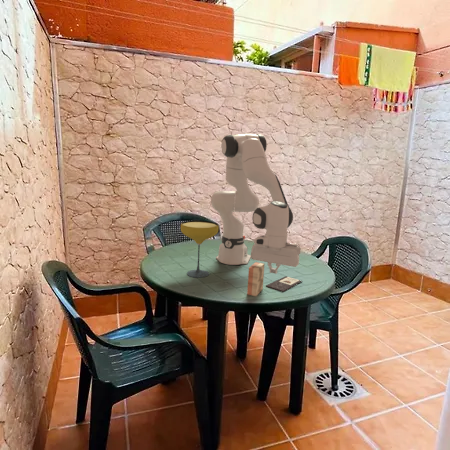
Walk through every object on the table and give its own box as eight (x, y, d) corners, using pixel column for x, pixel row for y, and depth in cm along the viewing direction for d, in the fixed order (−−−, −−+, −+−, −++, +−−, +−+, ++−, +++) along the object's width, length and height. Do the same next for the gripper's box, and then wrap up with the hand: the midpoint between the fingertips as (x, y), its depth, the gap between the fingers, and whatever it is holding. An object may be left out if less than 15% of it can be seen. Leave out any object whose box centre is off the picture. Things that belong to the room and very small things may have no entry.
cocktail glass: (200, 283, 156) (202, 229, 151) (171, 274, 166) (172, 223, 161) (223, 273, 170) (226, 224, 165) (195, 265, 180) (197, 218, 175)
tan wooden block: (254, 287, 154) (255, 262, 152) (262, 289, 153) (264, 263, 150) (247, 294, 146) (248, 267, 144) (256, 296, 144) (258, 269, 142)
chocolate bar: (265, 285, 156) (285, 276, 170) (265, 287, 156) (285, 278, 170) (283, 290, 150) (302, 281, 164) (282, 293, 150) (302, 282, 164)
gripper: (302, 243, 140) (299, 275, 143) (255, 236, 148) (253, 266, 151) (299, 246, 135) (296, 279, 138) (250, 239, 143) (248, 270, 146)
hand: (273, 272), depth 144 cm, fingers closed
